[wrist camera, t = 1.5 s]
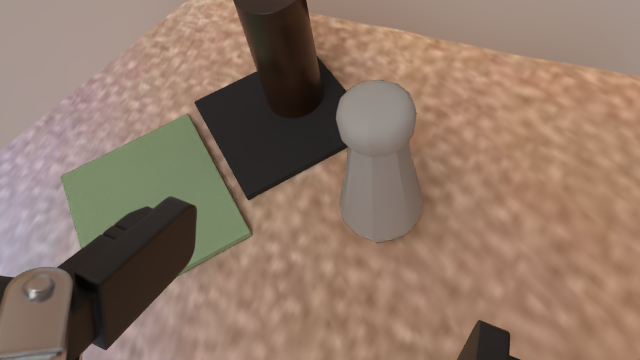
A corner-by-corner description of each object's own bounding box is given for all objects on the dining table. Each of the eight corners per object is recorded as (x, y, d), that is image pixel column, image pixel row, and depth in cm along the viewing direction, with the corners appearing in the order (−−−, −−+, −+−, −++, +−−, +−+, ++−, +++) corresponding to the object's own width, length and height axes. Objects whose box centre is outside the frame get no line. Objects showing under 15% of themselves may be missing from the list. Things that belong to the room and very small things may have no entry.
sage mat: (190, 117, 44) (187, 113, 44) (252, 235, 37) (250, 231, 37) (64, 179, 42) (60, 176, 42) (103, 316, 35) (99, 314, 35)
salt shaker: (327, 214, 37) (298, 99, 26) (384, 171, 38) (378, 45, 28) (378, 269, 34) (369, 166, 23) (438, 220, 36) (455, 102, 25)
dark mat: (309, 50, 47) (308, 45, 46) (376, 131, 41) (376, 127, 40) (196, 105, 45) (194, 101, 45) (248, 200, 39) (246, 196, 38)
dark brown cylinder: (307, 67, 45) (283, -42, 36) (333, 101, 42) (315, -7, 33) (258, 91, 44) (222, -14, 35) (283, 127, 42) (250, 24, 32)
